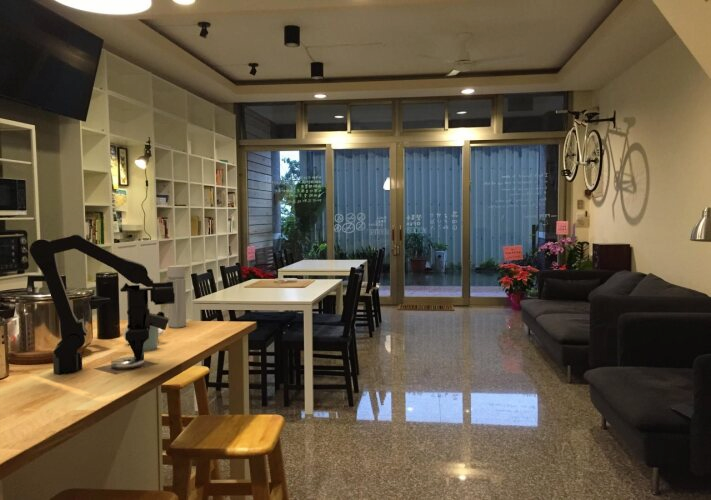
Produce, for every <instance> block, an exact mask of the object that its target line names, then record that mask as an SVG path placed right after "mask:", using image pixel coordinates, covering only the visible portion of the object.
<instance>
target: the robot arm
mask: <svg viewBox="0 0 711 500" xmlns="http://www.w3.org/2000/svg"><path fill="white" fill-rule="evenodd" d="M71 250H77V251H78V252H80V253H82V254H85V255H86V256H89V257H90V258H92V259H94V260H97V261H98V262H100V263H102V264H104V265H106V266H108V267H110V268H111V269H113V270H114V271H116V272H117V273H119V275H121V276H122V277H123V278H125V280H127V281H129V282H130V283H132V284H131V285H129V283H127V282H125V283H124V284H123V286H122V287H120V290H119V291H120V292H122V293H123V292H125V293H126V294H127V295H126V298H127V299H126V301H127V304H126V305H127V306H126V308H127V311H126V315H127V324H126V326H127V328H128V330H127V331H126V333H125V338H124V340H125V341H126V340H127V341H128V343H129V344H128V343H127V344H128V345H129V346H130V349H131V350H132V353H133V356H134V355H135V357H136V359H137V360H141V356H142V350H143V345H144V342H145V341H146V340H147V339H149V333H150V332H149V330H150V325H151V326H154V327H157V328H159V329H162V330H163V331H166V328H167V327H168V321H169V318H168V316H165V312H163V311H160V310H159V311H158V312H157V313H151V311H150V308H149V301H150V302H151V303H154V306H161V305H162V306H163V305H168V304H174V302H175V293H174V288H173V282H172V281H168V282H167V281H165V282H164V281H163V282H154V279H152V278H150V276H149V274H148V273H149V272H148V269H147V267H146V266H145V265H144V264H143V263H141V262H137V261H134V260H131V259H128V258H124V257H121V256H119V255H116V254H115V253H113V252H111V251H109V250H107V249H106V248H103V247H102V246H100V245H98V244H96V243H94V242H92V241H90V240H89V239H86V238H85V237H83V236H82V235H81V234H77V233H76V234H72V235H70V236H67V237H62V238H57V239H53V240H51V239H49V238H48V239H47V238H41V239H38V240H37V239H36V240H35V241H33V242H32V243H31V245H30V246H29V255H31V257H32V259H33V261H34V262H35V264H36V266H37V267H38V268H39V270H40V271H41V272H42V274H43V277H44V280H45V283H46V285H47V289H48V292H49V294H50V297H51V299H52V303H53V305H54V307H55V311H56V313H57V314H56V315H58V316H57V317H58V319H59V325H60V326H59V327H60V328H59V329H60V336H61V340H60V341H59V342H58V343H57V344H56V345H55V348H54V350H53V355H52V363H53V364H52V365H53V366H52V367H53V368H52V369H53V374H54V375H59V376H61V375H71V374H75V373H78V372H79V371H81V370H83V357H82V356H81V354H82V353H81V352H79V351H78V350H80V349H81V348H82V347H83V346H84V345H85V343H86V338H87V334H88V329H87V328H86V326H85V321H84V318H80V319H78V317H76V314H75V313H74V310H73V307H72V304H71V302H70V299H69V296H68V293H67V290H66V287H65V285H64V281H63V278H62V275H61V273H60V271H59V263H58V254H59V253H62V252H67V251H71ZM140 284H141V285H142V286H145V287H140ZM149 298H150V300H149ZM147 328H148V329H147Z"/></svg>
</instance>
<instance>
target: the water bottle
mask: <svg viewBox="0 0 711 500" xmlns="http://www.w3.org/2000/svg"><path fill="white" fill-rule="evenodd" d="M166 268H167V270H166V278H165V279H166V282H168V281H172V282H173V288H174V293H175V302H174V304H167V318H169V321H168V324H167V327H169V328H171V329H181V328H184V327H186V326H187V300H186V299H187V297H186V296H187V294H186V291H187V290H186V288H187V287H186V282H187V281H186V279H187V276H186V272H185V271H186V270H185V266H184V265H169V266H167V267H166Z"/></svg>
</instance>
